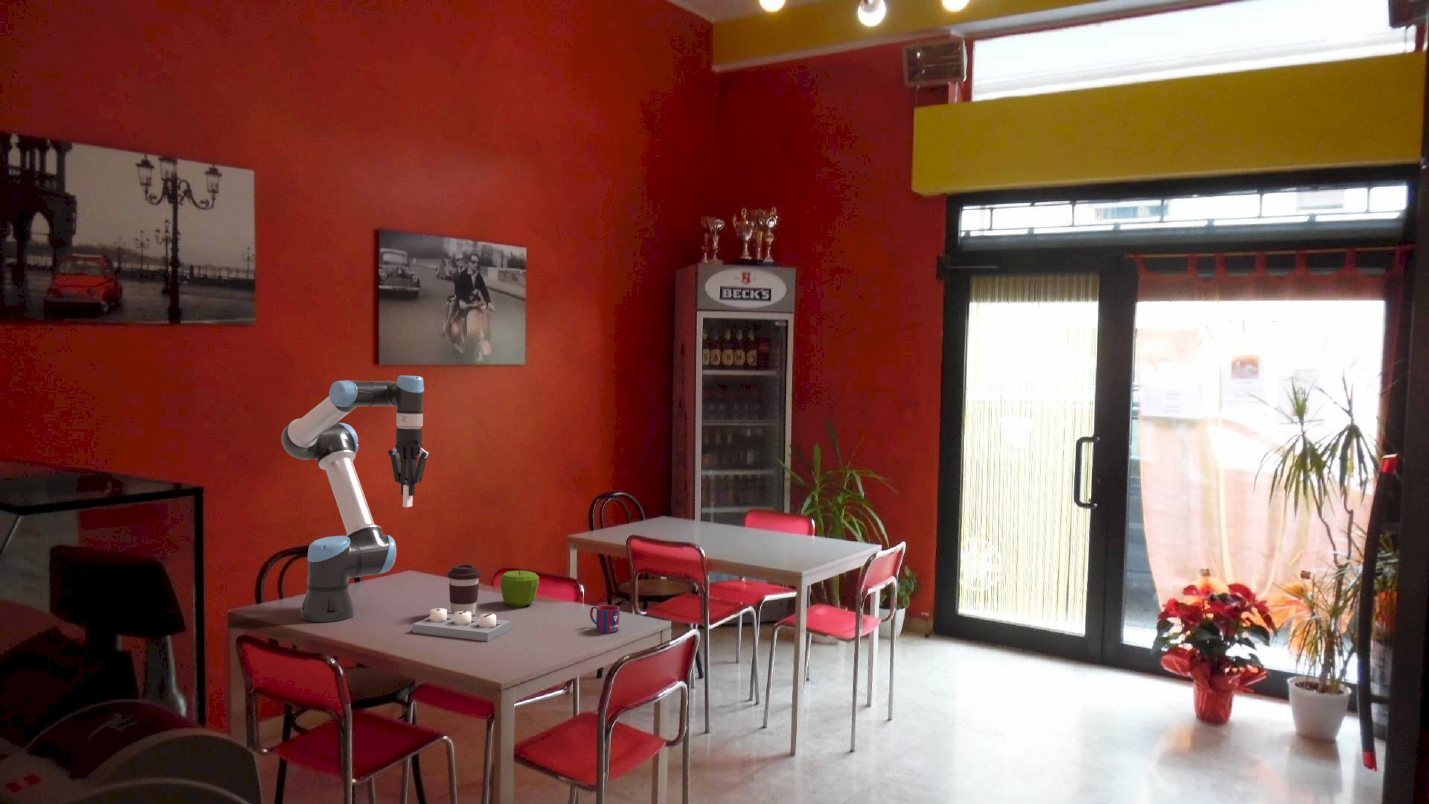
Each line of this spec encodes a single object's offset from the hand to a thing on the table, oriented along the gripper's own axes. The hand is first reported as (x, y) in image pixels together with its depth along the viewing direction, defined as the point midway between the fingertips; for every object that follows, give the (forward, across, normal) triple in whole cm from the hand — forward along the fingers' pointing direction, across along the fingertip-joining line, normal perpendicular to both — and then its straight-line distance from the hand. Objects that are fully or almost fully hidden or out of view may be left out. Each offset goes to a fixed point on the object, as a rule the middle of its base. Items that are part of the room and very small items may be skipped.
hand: (407, 506), depth 291 cm
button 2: (+34, +21, -3) cm, 40 cm away
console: (+34, +21, -3) cm, 40 cm away
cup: (+35, +58, +14) cm, 69 cm away
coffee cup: (+35, +12, +13) cm, 39 cm away
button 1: (+34, +13, -3) cm, 36 cm away
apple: (+35, +22, +32) cm, 52 cm away
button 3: (+34, +29, -3) cm, 44 cm away
